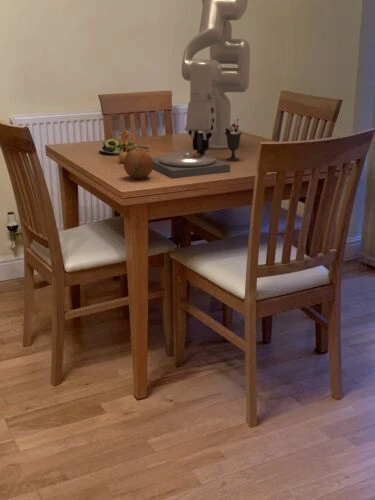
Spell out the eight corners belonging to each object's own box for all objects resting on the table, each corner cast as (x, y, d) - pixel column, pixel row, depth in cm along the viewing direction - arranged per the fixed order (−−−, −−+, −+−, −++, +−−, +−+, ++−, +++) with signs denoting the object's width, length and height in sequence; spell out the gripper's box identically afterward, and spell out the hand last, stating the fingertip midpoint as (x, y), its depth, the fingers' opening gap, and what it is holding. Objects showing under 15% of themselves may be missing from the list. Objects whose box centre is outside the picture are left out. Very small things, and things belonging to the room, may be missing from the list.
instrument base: (200, 159, 241) (201, 152, 240) (230, 171, 222) (230, 163, 221) (146, 165, 232) (146, 158, 231) (172, 178, 213) (172, 170, 212)
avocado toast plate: (152, 148, 265) (152, 137, 263) (145, 157, 248) (145, 145, 246) (106, 147, 266) (106, 136, 265) (96, 156, 250) (95, 144, 248)
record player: (182, 152, 239) (181, 130, 236) (226, 159, 228) (227, 135, 225) (147, 162, 224) (147, 137, 221) (193, 169, 213) (193, 143, 210)
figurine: (111, 163, 235) (110, 130, 231) (116, 160, 241) (115, 128, 237) (133, 164, 234) (132, 131, 230) (138, 161, 239) (137, 128, 235)
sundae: (243, 158, 243) (244, 118, 238) (239, 162, 237) (240, 121, 232) (227, 157, 245) (227, 117, 240) (222, 160, 239) (222, 120, 234)
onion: (151, 174, 219) (151, 145, 215) (155, 181, 209) (154, 150, 206) (123, 175, 217) (122, 146, 214) (125, 182, 208) (124, 151, 204)
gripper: (226, 98, 224) (225, 150, 230) (187, 95, 232) (187, 146, 238) (215, 100, 218) (214, 154, 224) (175, 97, 226) (175, 149, 232)
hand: (200, 149), depth 231 cm, fingers closed on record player, 3 cm apart
